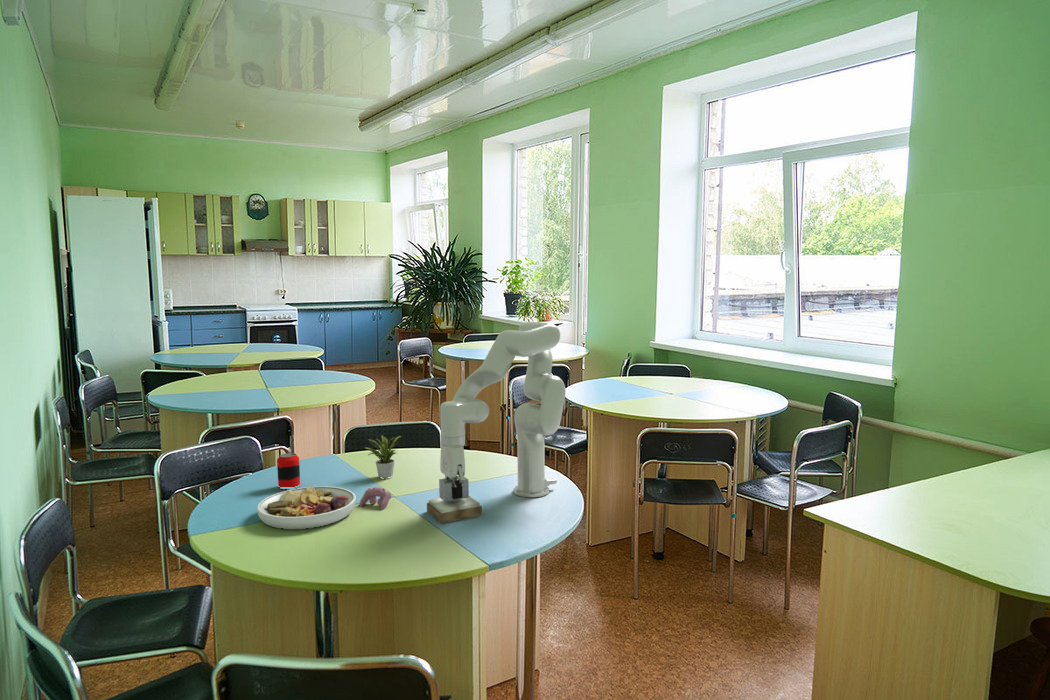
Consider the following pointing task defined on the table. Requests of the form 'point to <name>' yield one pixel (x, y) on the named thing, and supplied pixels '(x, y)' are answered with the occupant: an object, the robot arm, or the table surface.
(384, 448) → the house plant
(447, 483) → the block
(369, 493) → the video game controller
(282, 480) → the soda can
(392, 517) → the table surface
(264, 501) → the bowl
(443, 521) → the stand
